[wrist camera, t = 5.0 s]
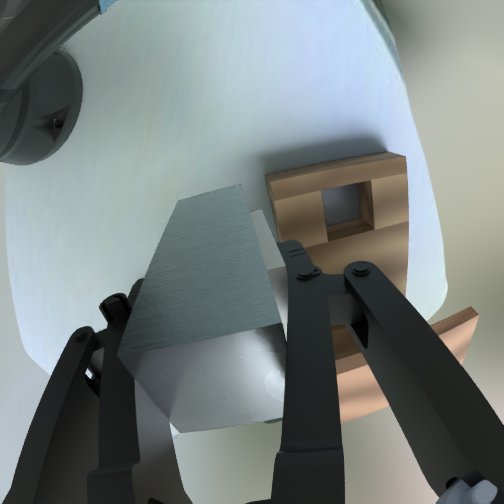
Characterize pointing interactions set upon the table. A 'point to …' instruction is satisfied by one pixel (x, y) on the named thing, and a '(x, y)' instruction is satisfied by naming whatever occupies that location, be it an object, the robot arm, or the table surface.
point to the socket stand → (357, 253)
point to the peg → (208, 320)
